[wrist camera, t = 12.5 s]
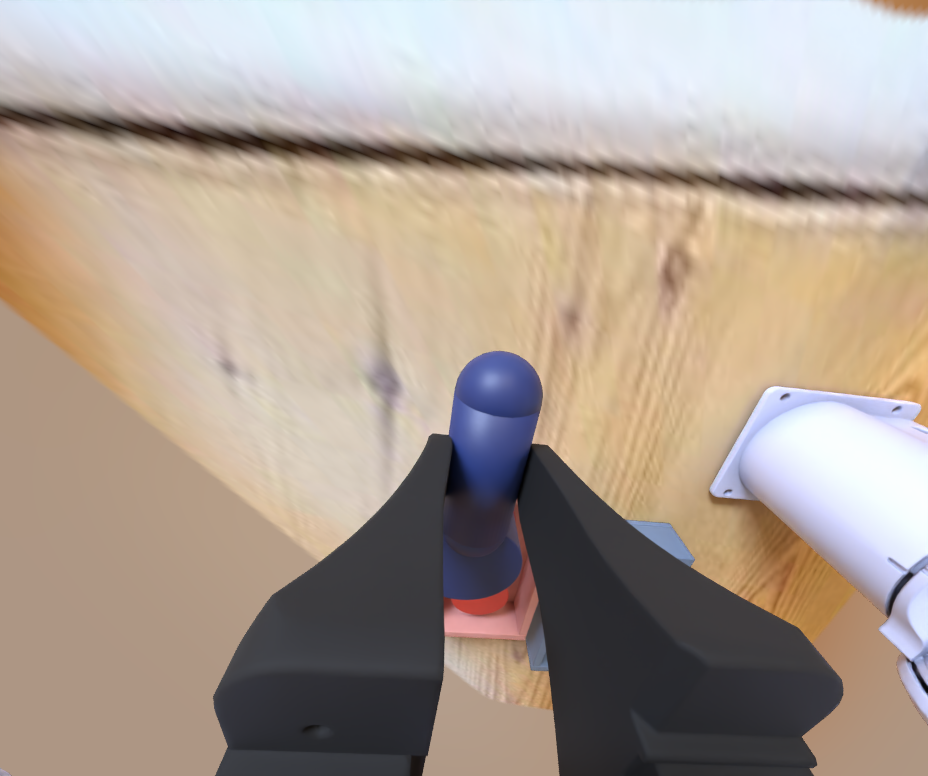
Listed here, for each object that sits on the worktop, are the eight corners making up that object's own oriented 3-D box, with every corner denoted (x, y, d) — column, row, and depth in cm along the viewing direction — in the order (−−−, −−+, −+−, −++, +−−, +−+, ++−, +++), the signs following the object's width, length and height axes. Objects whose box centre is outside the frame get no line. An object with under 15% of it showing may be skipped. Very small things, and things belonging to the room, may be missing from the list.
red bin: (440, 456, 21) (437, 489, 19) (560, 467, 22) (574, 500, 19) (423, 595, 27) (419, 635, 25) (518, 601, 28) (524, 640, 25)
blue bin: (564, 514, 24) (577, 551, 21) (669, 523, 24) (695, 559, 22) (524, 631, 30) (530, 670, 27) (609, 635, 30) (624, 674, 28)
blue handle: (438, 331, 11) (432, 362, 8) (562, 347, 11) (590, 381, 9) (415, 552, 15) (407, 613, 13) (505, 558, 15) (513, 619, 13)
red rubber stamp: (465, 485, 22) (466, 517, 20) (526, 491, 22) (534, 522, 20) (448, 586, 26) (447, 622, 24) (500, 589, 26) (504, 625, 24)
